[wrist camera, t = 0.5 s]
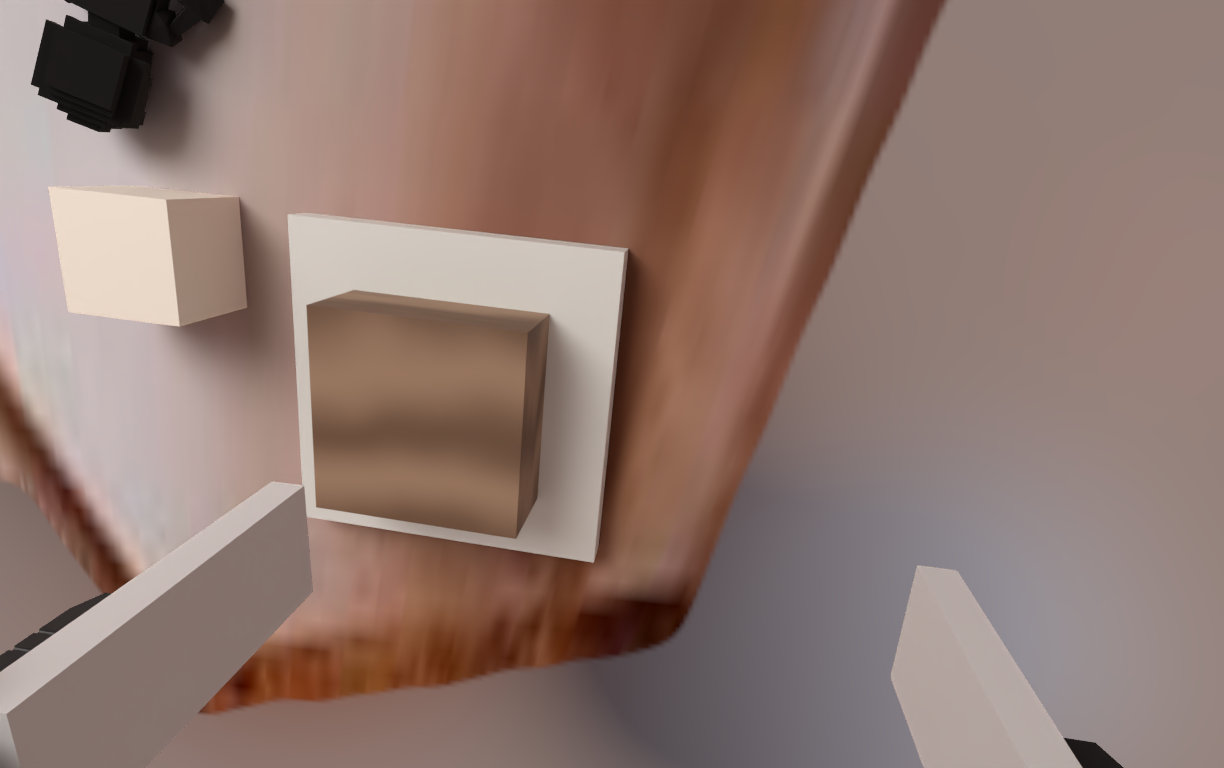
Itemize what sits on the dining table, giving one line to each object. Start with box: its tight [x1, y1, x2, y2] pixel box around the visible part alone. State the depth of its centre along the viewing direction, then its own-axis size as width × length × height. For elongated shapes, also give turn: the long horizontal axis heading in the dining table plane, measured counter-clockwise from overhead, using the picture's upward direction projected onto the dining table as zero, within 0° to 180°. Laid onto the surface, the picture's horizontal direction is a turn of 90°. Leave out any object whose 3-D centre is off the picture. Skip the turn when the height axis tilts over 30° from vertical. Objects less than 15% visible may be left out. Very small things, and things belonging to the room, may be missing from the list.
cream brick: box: [48, 186, 247, 327], centre depth 40 cm, size 7×7×6 cm
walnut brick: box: [306, 290, 550, 539], centre depth 39 cm, size 12×12×5 cm
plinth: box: [288, 213, 628, 563], centre depth 42 cm, size 20×20×2 cm
